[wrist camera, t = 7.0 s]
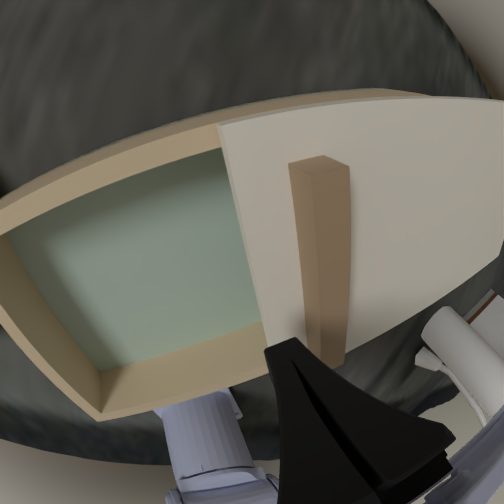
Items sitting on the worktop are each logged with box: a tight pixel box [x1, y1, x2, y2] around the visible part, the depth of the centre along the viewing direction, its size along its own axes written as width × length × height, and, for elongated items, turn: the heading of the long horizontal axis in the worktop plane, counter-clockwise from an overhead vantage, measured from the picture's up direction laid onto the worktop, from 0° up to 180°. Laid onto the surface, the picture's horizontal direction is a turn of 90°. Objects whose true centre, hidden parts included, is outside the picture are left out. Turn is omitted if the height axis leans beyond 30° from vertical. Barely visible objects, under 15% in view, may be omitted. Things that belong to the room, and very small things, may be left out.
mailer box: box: [0, 88, 430, 422], centre depth 17 cm, size 16×26×5 cm, turn 101°
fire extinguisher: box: [415, 306, 504, 427], centre depth 27 cm, size 7×12×25 cm, turn 151°
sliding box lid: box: [217, 96, 504, 369], centre depth 16 cm, size 16×26×3 cm, turn 101°
